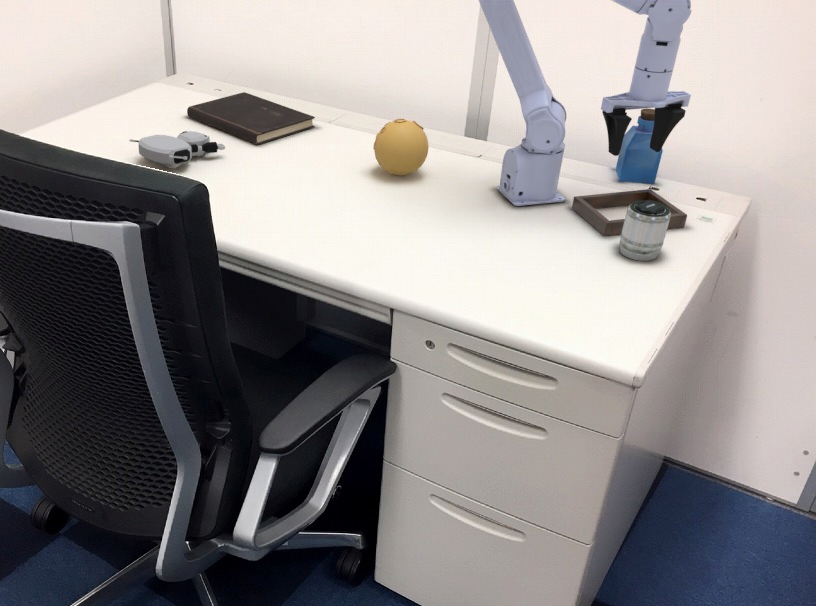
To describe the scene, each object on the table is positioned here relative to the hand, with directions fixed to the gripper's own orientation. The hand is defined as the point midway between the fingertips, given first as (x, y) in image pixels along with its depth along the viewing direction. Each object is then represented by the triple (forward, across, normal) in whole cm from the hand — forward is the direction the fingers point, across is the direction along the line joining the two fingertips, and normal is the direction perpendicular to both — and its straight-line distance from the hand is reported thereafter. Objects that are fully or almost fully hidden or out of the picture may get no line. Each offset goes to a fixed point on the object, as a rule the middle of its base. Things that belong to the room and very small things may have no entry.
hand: (634, 151), depth 141 cm
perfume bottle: (+10, +9, +11) cm, 17 cm away
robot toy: (+10, -72, +38) cm, 82 cm away
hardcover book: (+10, -55, +56) cm, 79 cm away
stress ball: (+10, -33, +22) cm, 41 cm away
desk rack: (+9, -2, -5) cm, 11 cm away
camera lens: (+10, -7, -17) cm, 21 cm away
